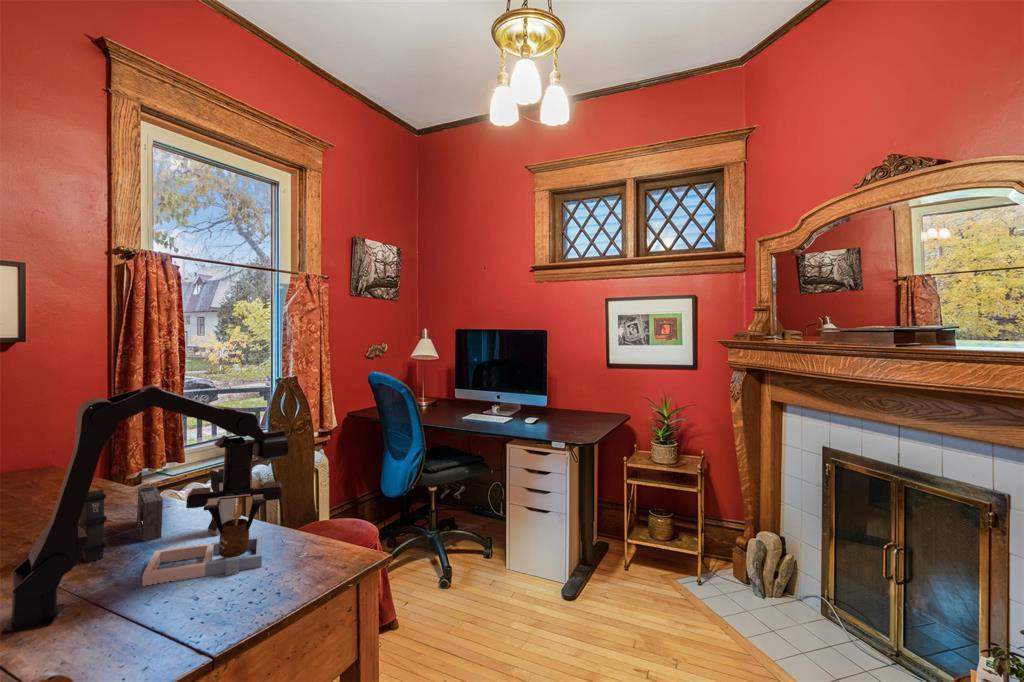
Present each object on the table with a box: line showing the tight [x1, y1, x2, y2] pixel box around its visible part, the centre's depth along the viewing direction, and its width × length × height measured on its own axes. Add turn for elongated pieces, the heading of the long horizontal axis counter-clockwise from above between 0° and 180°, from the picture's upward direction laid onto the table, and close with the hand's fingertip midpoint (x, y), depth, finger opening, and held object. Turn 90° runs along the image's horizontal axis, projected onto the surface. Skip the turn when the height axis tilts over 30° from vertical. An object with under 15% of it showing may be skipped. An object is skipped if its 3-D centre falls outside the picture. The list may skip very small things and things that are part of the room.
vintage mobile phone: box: [207, 436, 237, 536], centre depth 122 cm, size 4×5×25 cm
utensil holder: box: [218, 501, 250, 558], centre depth 107 cm, size 6×6×12 cm
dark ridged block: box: [78, 489, 107, 563], centre depth 108 cm, size 4×13×15 cm, turn 49°
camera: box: [136, 484, 164, 542], centre depth 121 cm, size 16×4×10 cm, turn 44°
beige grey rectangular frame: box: [142, 535, 264, 587], centre depth 105 cm, size 14×22×3 cm, turn 118°
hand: (234, 530), depth 107 cm, fingers closed on utensil holder, 5 cm apart
